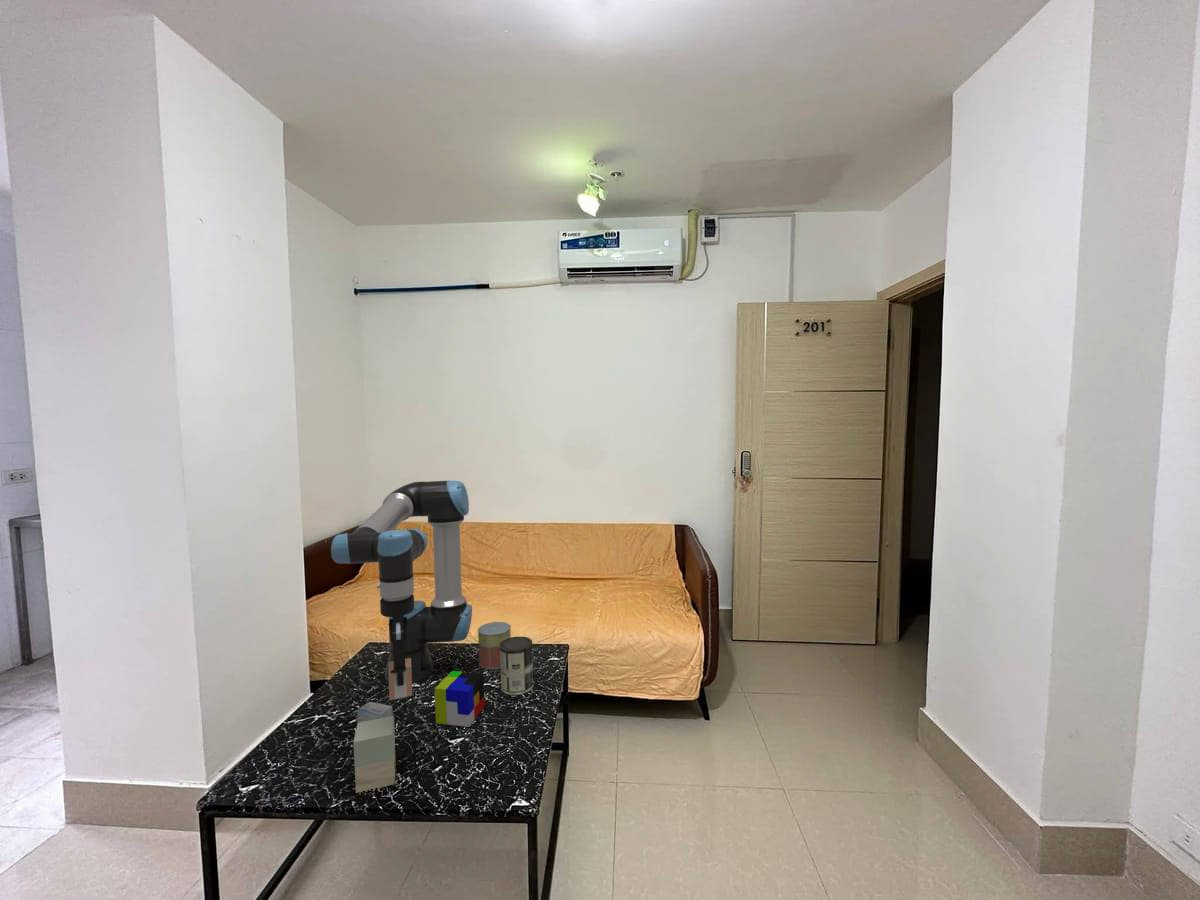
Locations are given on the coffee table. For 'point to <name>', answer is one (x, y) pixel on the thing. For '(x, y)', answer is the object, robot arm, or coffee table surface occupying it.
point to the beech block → (375, 775)
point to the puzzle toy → (459, 698)
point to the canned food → (492, 643)
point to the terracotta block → (408, 678)
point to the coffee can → (516, 665)
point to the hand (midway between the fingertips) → (400, 691)
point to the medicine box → (373, 711)
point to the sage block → (374, 741)
